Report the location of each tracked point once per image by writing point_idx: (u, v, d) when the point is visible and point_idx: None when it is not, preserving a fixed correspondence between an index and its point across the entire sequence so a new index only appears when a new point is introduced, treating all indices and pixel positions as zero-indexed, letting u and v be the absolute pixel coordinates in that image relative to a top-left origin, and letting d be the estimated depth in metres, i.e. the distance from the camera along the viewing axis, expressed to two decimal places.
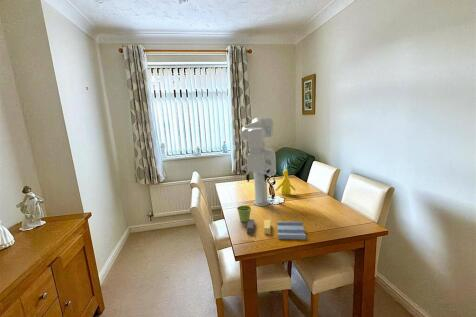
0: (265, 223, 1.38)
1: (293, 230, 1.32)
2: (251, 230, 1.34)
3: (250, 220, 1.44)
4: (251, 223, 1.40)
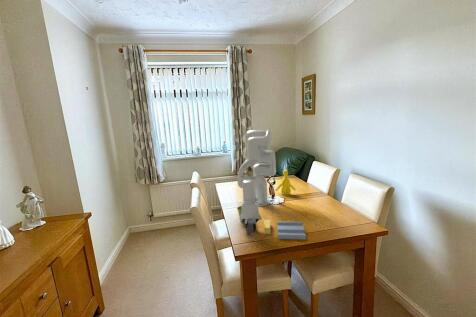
0: (265, 223, 1.39)
1: (293, 230, 1.32)
2: (251, 230, 1.34)
3: (250, 220, 1.43)
4: (251, 222, 1.40)
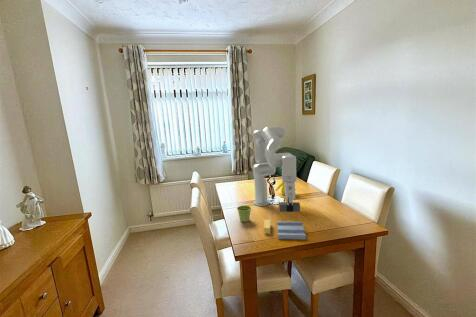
0: (265, 223, 1.39)
1: (293, 230, 1.32)
2: (279, 207, 1.27)
3: (296, 203, 1.27)
4: None
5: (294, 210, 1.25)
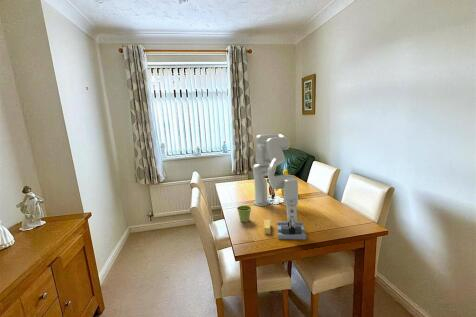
0: (265, 223, 1.39)
1: None
2: (281, 230, 1.29)
3: (298, 227, 1.29)
4: None
5: None
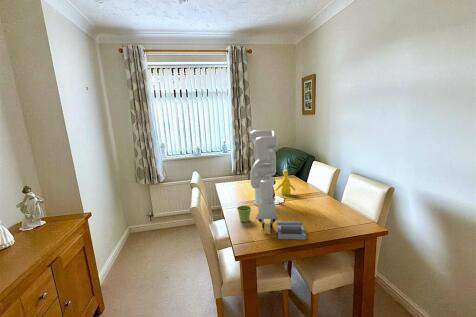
0: (265, 222, 1.39)
1: None
2: (281, 230, 1.29)
3: (298, 227, 1.29)
4: (292, 227, 1.29)
5: None
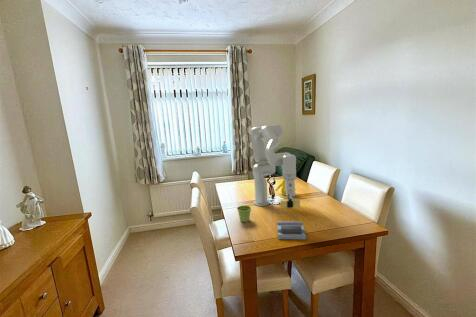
0: None
1: None
2: (281, 230, 1.29)
3: (298, 227, 1.29)
4: (292, 227, 1.29)
5: None
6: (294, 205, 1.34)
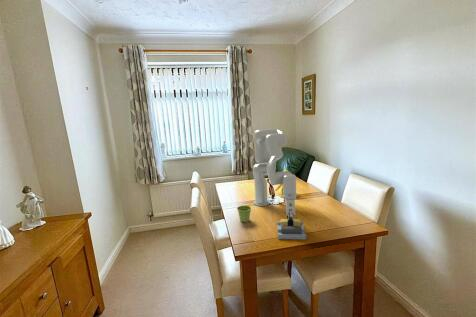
0: None
1: None
2: (281, 230, 1.29)
3: (298, 227, 1.29)
4: (292, 227, 1.29)
5: None
6: None
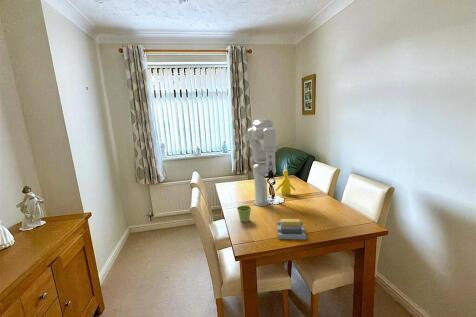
0: (290, 219, 1.39)
1: None
2: (281, 230, 1.29)
3: (298, 227, 1.29)
4: (292, 227, 1.29)
5: None
6: None
